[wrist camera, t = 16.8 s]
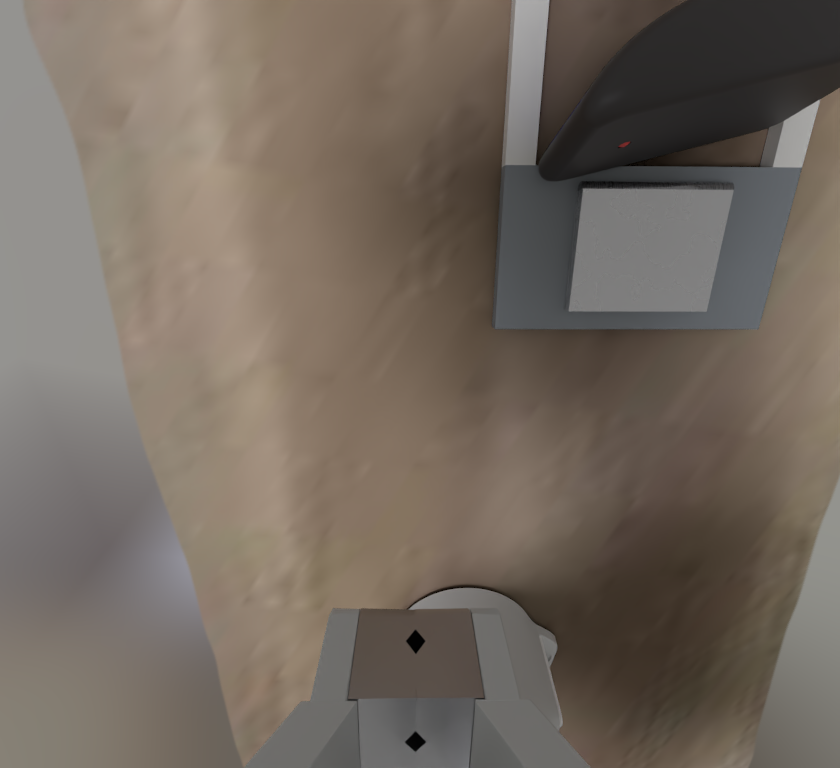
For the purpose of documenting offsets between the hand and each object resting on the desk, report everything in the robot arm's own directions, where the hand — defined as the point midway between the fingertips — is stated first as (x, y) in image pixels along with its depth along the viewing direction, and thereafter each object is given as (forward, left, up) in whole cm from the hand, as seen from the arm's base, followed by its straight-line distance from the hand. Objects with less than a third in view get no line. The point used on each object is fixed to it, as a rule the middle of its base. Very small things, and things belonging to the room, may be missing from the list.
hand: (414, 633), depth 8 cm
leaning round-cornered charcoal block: (+12, -16, -26) cm, 33 cm away
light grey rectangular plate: (+6, -16, -25) cm, 31 cm away
